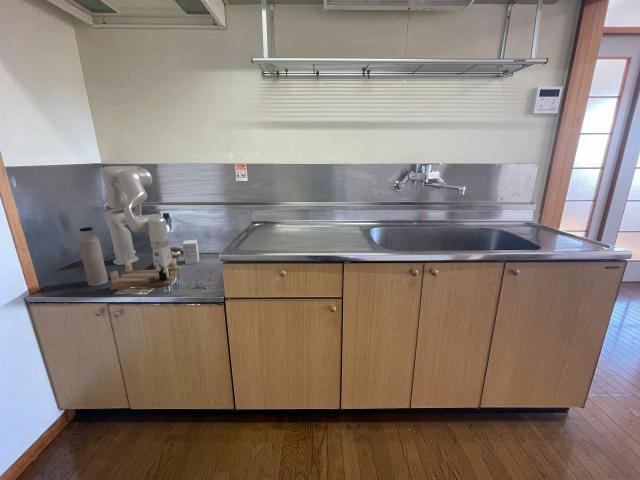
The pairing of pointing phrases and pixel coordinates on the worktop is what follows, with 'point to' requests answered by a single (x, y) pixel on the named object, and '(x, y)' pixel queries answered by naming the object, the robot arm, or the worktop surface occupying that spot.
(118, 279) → the stool seat
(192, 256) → the supplement box
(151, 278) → the swing leg
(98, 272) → the thermos bottle
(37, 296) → the worktop surface
